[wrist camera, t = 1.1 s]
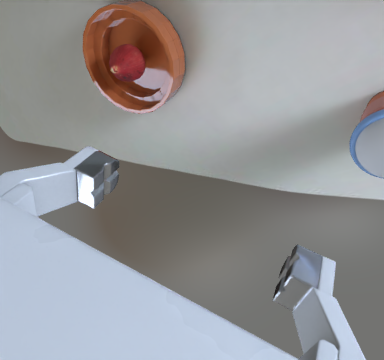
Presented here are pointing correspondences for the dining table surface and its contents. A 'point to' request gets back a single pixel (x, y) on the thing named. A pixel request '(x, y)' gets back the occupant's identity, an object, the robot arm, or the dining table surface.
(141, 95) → the terracotta bowl
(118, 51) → the onion
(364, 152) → the cup with straw
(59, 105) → the dining table surface
